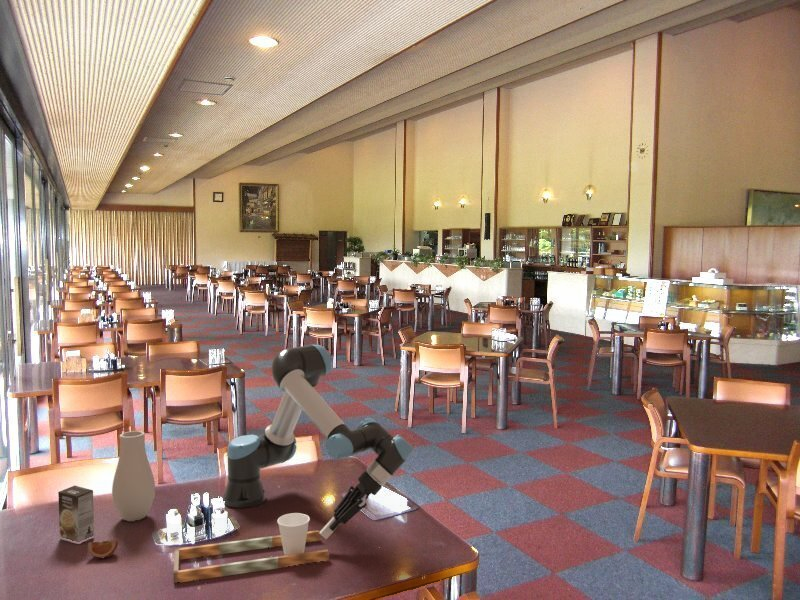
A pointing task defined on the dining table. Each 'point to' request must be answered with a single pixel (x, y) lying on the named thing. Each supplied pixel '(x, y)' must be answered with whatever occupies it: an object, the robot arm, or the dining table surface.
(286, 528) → the cup
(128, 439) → the vase
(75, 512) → the coffee box
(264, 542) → the track
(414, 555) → the dining table surface
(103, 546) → the fruit slice
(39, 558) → the dining table surface
